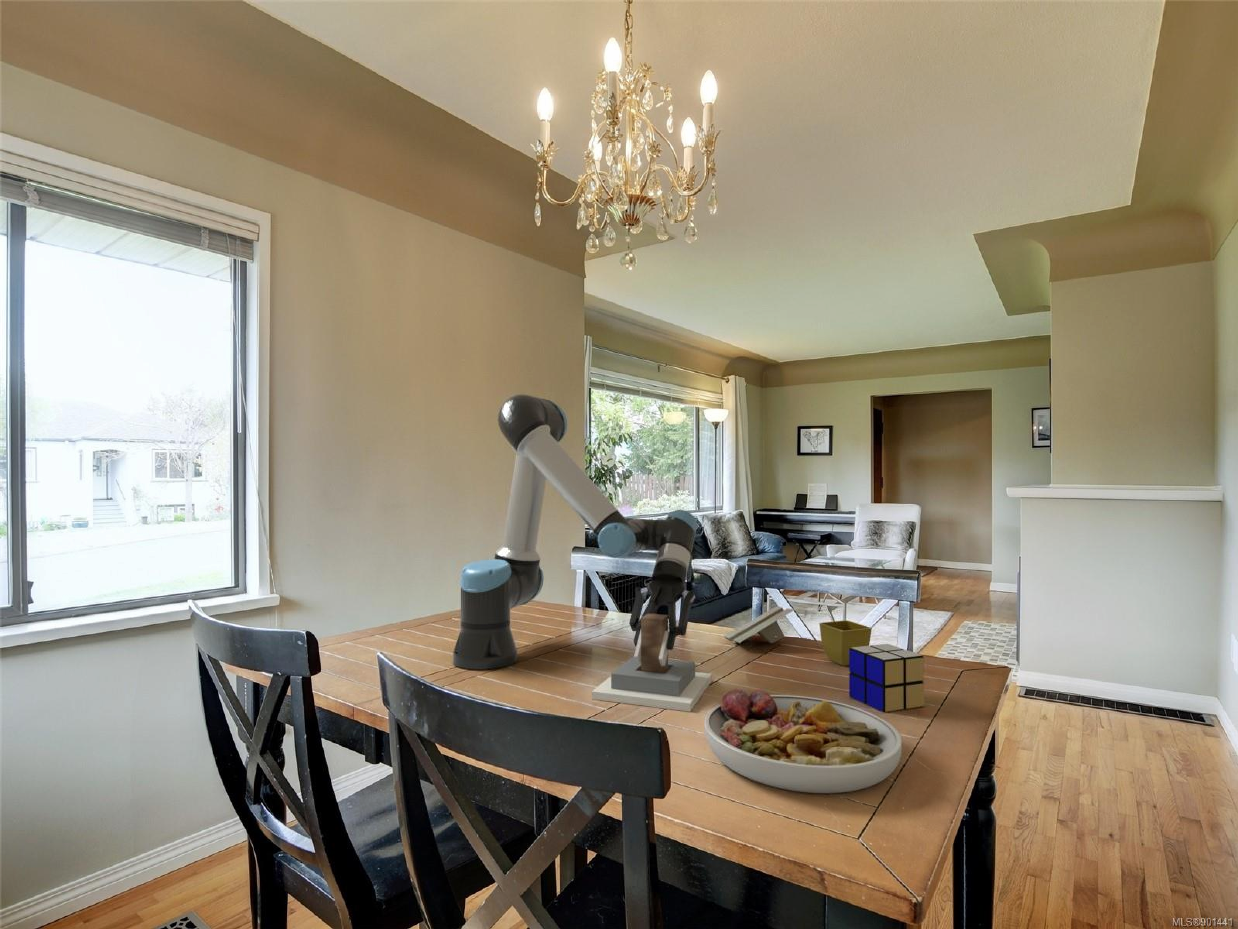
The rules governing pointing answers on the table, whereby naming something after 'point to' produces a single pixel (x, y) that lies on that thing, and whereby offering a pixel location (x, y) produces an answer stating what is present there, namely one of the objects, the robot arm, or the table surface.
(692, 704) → the socket plate
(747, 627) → the grey sloped stand
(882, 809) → the table surface
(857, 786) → the bowl
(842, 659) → the flower pot
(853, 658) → the puzzle cube
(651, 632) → the walnut peg
